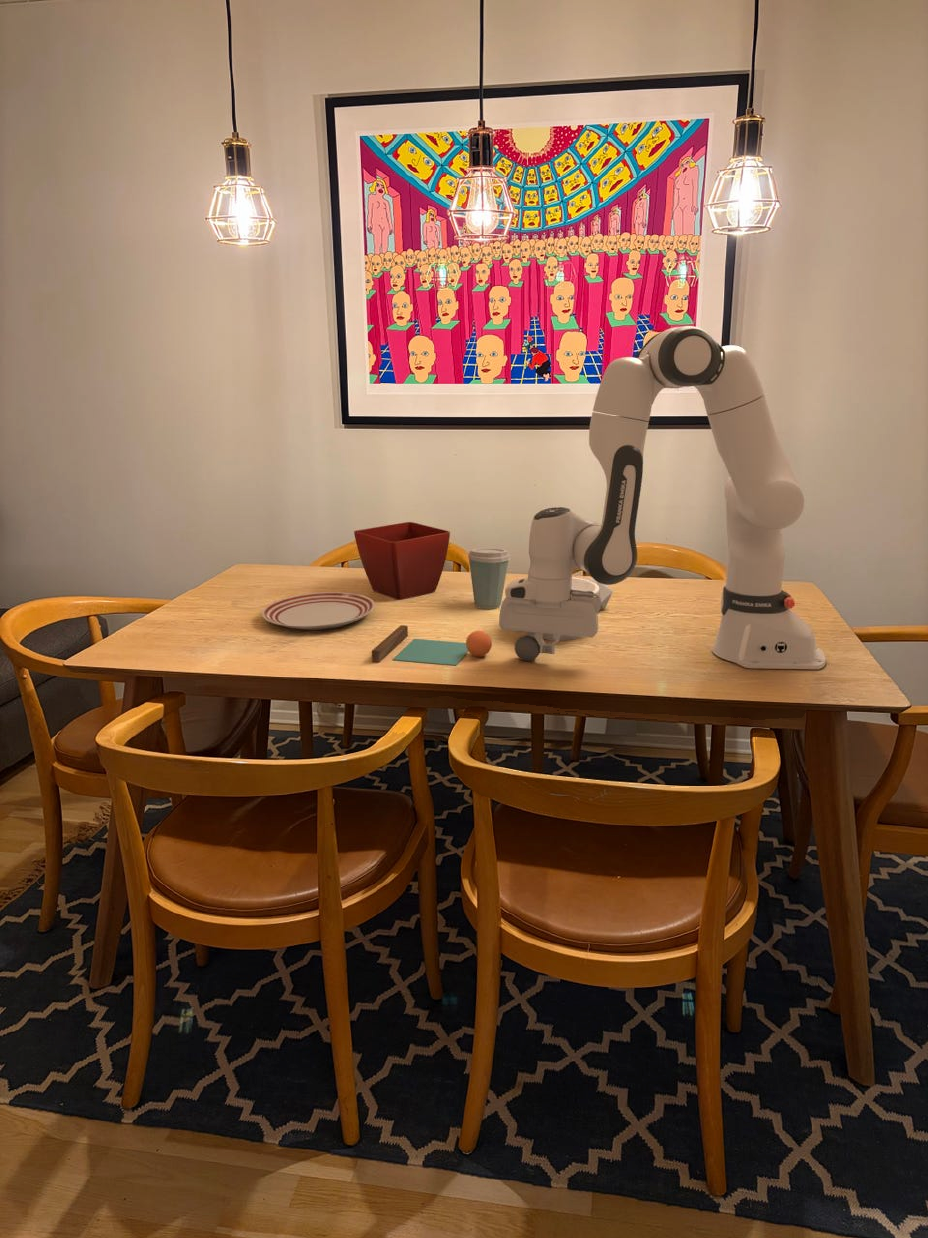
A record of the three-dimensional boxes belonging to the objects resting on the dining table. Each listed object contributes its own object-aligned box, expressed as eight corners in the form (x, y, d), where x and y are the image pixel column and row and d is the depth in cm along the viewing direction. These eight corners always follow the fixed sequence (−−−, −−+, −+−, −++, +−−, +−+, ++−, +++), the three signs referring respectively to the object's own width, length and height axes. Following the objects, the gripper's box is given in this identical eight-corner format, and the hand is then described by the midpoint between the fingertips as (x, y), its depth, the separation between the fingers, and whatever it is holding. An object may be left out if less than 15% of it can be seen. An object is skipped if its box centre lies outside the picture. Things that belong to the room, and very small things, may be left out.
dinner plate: (309, 645, 188) (308, 630, 187) (240, 621, 206) (238, 608, 205) (398, 617, 207) (398, 604, 206) (328, 597, 225) (327, 585, 224)
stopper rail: (407, 636, 193) (407, 625, 192) (379, 662, 176) (378, 651, 175) (401, 635, 193) (400, 625, 192) (372, 661, 176) (371, 650, 176)
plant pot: (394, 605, 216) (392, 541, 211) (355, 591, 231) (352, 530, 226) (453, 592, 228) (452, 531, 223) (411, 579, 242) (410, 521, 237)
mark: (473, 644, 186) (473, 643, 186) (456, 665, 174) (456, 664, 174) (414, 639, 190) (414, 638, 190) (392, 660, 177) (392, 659, 177)
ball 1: (494, 652, 181) (494, 628, 179) (488, 661, 176) (488, 636, 174) (469, 650, 182) (469, 626, 181) (463, 659, 177) (462, 634, 176)
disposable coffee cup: (466, 600, 220) (466, 544, 215) (507, 599, 220) (507, 543, 216) (469, 612, 210) (469, 553, 205) (512, 611, 210) (513, 552, 206)
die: (568, 610, 213) (577, 587, 205) (579, 587, 218) (588, 563, 210) (598, 623, 212) (609, 600, 204) (608, 600, 217) (619, 576, 209)
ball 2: (547, 638, 177) (523, 626, 177) (542, 646, 172) (518, 635, 172) (536, 659, 179) (513, 648, 179) (531, 669, 174) (508, 657, 174)
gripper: (602, 588, 170) (599, 652, 175) (504, 581, 175) (503, 643, 179) (599, 596, 165) (596, 662, 169) (497, 589, 170) (496, 653, 174)
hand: (547, 652), depth 174 cm, fingers closed
